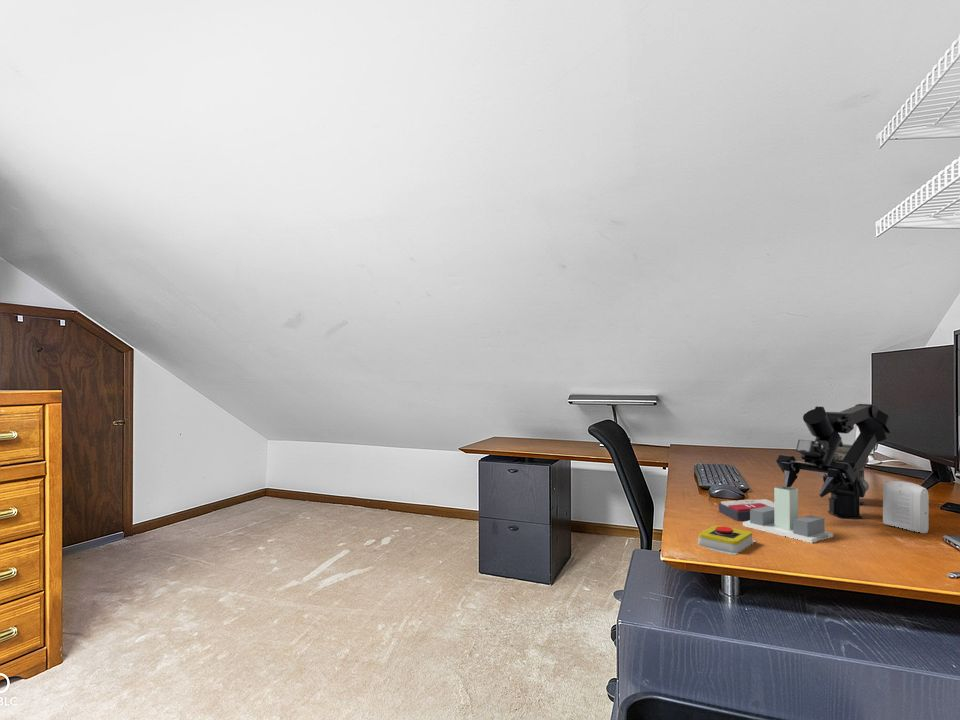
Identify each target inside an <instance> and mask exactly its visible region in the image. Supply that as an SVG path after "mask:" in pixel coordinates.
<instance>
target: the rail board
mask: <svg viewBox="0 0 960 720" xmlns="http://www.w3.org/2000/svg"><path fill="white" fill-rule="evenodd" d="M742 526H743V527H746V528H750V529H754V530H758V531H763V532H765V533H769V534H774V535H777V536H781V537H785V536H786V538H790V539H793V538H794V539H793V540H797V539H798V541H801V540H802V541H801V542H805V541H806V542H805V543H809V542H810V543H809V544H814V543H817V541H818V542H821V541H824V539H825V540H828V539H831V538H834V533H833V532H830V531H826V526H825V517H820V516H816V515H812V514H809V515H806V516H801V517H798V518H796V519H793V529H791V530H788V529H784V528H780V527H775V526H774V507H769V506H765V507H761V508H756V509H751V510H750V520H748V521H742ZM830 537H831V538H830ZM827 538H828V539H827ZM820 540H821V541H820ZM813 542H814V543H813Z"/></svg>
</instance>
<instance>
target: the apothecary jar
mask: <svg viewBox="0 0 960 720" xmlns="http://www.w3.org/2000/svg"><path fill="white" fill-rule="evenodd" d="M852 445H853V444H846V443H843V447H838V448H837V450H836V453H835V455H834V457H835V459H836V460H839V461H842V460H843V458H844V457H845V455H846V454H847V452H848V451H849V449H850V448H851V446H852ZM869 460H870V458H869V457H868V458H867V459H866V461H865V463H864V464H863V466H862V467H861V469H860V471H859V475H860V478H861V481H862V483H863V485H864V487H865V489H866V490H865V493H866V492H867V491H868V490H869V489H870V485H869V482H868V481H866V480H865V465H868V463H869V462H870V461H869ZM829 498H831V496H830V497H829ZM829 498H828V499H827V500H828V501H829ZM865 504H866V503H865V501H863V500H861V499H860V498H859V506H861V505H862V506H863V505H865Z"/></svg>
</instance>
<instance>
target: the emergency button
mask: <svg viewBox="0 0 960 720" xmlns="http://www.w3.org/2000/svg"><path fill="white" fill-rule="evenodd" d="M754 542H755V543H756V542H757V541H756V540H754V539H753V532H752V531H750V530H744V529H739V528H734V527H729V526H728V527H727V526H723V525H713V526H711V527H709V528H707V529H705V530H702V531H701V532H699V533H698V541H697V544H698V545H701V546H705V547H707V548H706V549H705V550H707V549H708V548H709V549H710V550H709V551H711V550H713V551H712V552H716V551H717V553H721V554H726V555H729V556H736V554H737V555H738V554H739V552H740V553H742V552H743V551H744V550H746V549H748V548H749V547H751V546H752V545H754V544H755V543H754ZM753 543H754V544H753ZM751 544H752V545H751ZM750 545H751V546H750ZM748 546H749V547H748ZM745 548H746V549H745ZM742 550H743V551H742Z"/></svg>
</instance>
